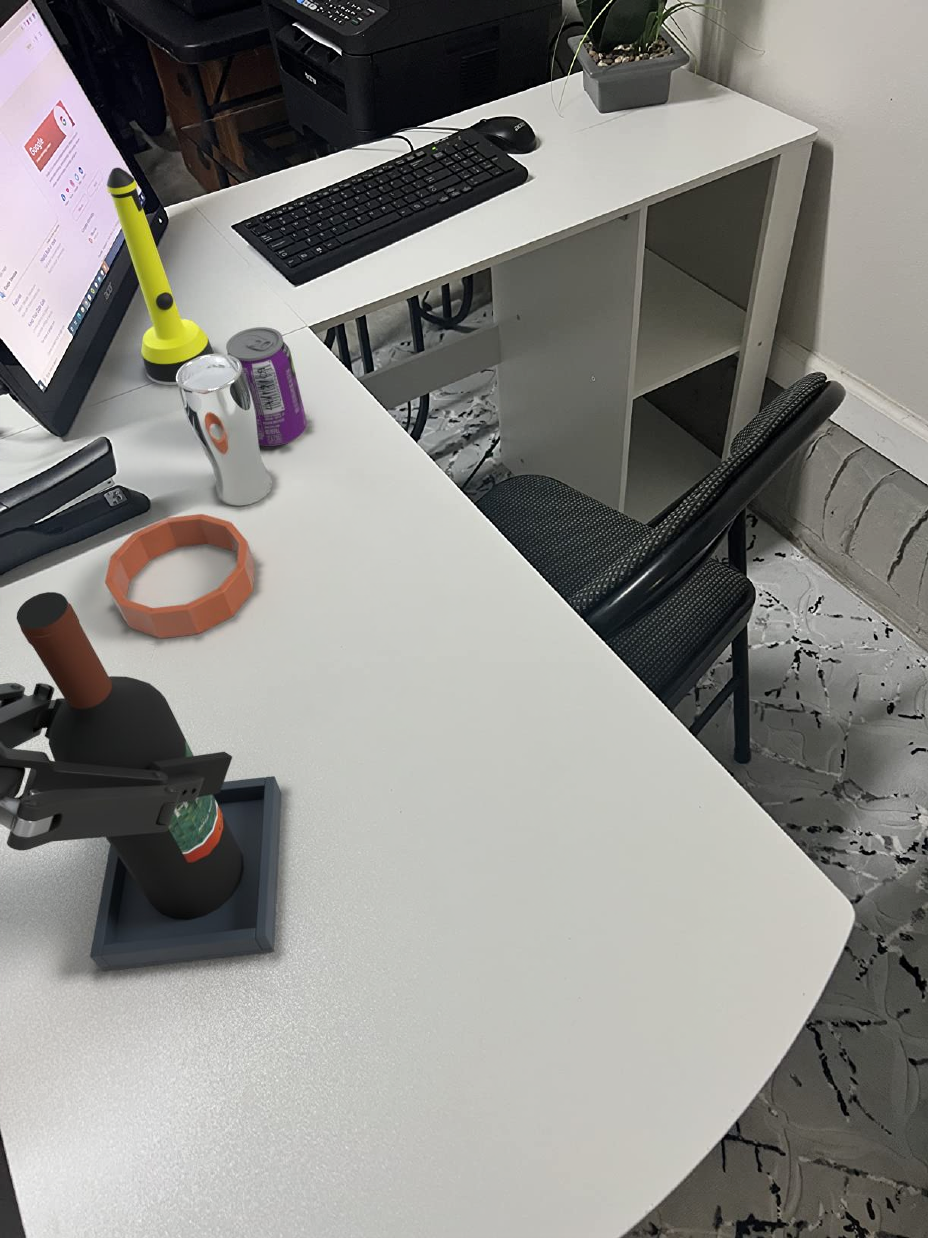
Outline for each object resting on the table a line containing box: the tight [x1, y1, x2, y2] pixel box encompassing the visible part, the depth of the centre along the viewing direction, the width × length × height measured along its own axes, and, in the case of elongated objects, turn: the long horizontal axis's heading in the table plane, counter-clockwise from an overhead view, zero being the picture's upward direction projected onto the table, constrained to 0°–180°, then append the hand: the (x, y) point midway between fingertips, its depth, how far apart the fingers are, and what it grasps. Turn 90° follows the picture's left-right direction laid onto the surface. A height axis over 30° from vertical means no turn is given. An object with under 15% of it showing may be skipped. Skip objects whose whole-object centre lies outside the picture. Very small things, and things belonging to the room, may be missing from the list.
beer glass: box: [176, 353, 273, 507], centre depth 101 cm, size 7×7×15 cm
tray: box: [89, 775, 282, 972], centre depth 74 cm, size 13×14×3 cm
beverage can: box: [225, 326, 308, 447], centre depth 109 cm, size 7×7×12 cm
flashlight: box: [106, 167, 215, 386], centre depth 115 cm, size 25×9×9 cm
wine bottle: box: [16, 591, 244, 920], centre depth 63 cm, size 8×8×30 cm
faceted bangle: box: [104, 513, 256, 639], centre depth 96 cm, size 14×14×4 cm
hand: (174, 742), depth 66 cm, fingers open, 8 cm apart
